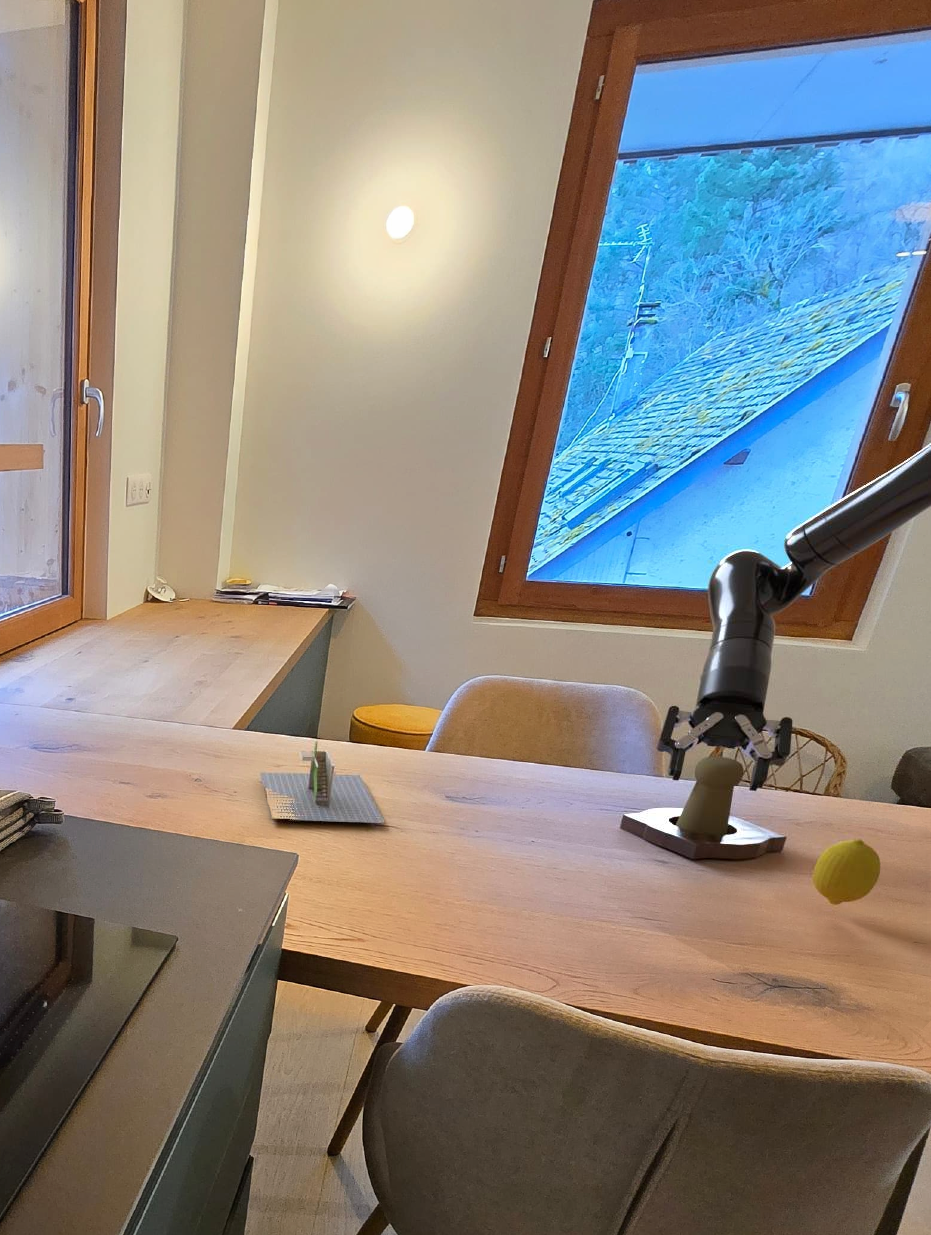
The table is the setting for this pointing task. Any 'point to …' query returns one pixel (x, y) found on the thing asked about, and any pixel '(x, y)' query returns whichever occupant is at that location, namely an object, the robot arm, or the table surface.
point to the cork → (711, 796)
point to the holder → (702, 836)
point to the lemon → (846, 871)
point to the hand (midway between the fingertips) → (714, 782)
